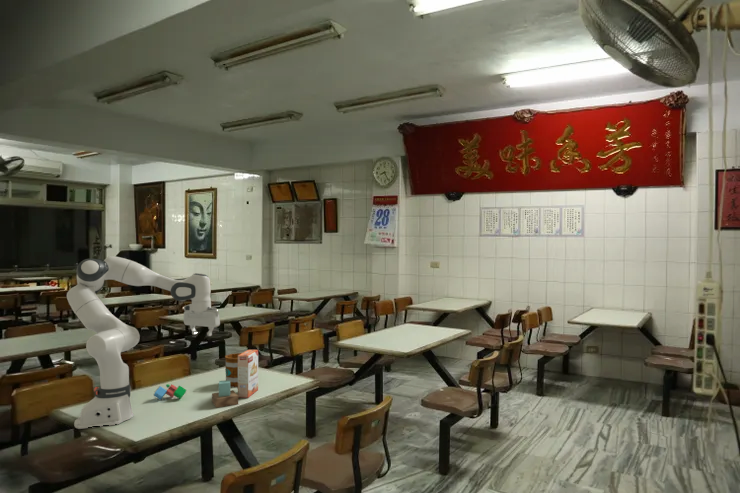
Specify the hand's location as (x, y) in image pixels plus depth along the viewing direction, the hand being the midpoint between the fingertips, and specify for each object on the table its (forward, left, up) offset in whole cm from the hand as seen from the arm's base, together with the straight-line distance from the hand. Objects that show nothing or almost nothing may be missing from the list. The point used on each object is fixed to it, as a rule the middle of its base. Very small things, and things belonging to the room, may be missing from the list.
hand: (201, 335), depth 238 cm
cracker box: (+21, -3, -31) cm, 38 cm away
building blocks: (-14, +8, -31) cm, 35 cm away
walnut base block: (+8, -12, -31) cm, 34 cm away
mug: (+22, +15, -31) cm, 41 cm away
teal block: (+8, -12, -27) cm, 31 cm away
